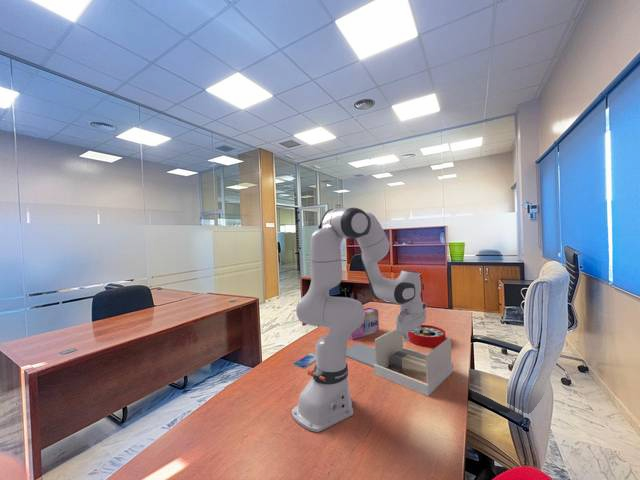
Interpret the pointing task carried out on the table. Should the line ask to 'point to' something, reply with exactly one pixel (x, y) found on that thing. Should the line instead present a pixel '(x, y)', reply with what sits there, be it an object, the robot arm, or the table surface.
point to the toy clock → (427, 336)
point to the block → (409, 364)
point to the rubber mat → (361, 354)
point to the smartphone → (306, 361)
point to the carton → (435, 359)
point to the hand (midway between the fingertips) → (411, 337)
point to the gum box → (367, 324)
